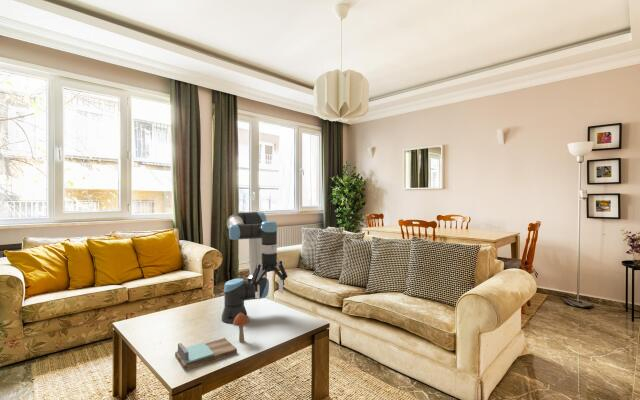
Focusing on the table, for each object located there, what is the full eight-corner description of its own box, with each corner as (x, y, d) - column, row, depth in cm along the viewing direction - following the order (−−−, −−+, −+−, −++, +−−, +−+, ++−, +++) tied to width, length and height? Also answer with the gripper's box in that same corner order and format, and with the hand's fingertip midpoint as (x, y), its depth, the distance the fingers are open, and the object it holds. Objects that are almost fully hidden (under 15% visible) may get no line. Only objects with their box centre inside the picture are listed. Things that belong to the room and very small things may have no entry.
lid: (177, 351, 153) (177, 342, 152) (203, 343, 160) (203, 335, 160) (186, 364, 142) (185, 354, 141) (214, 355, 149) (213, 345, 149)
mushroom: (234, 338, 172) (234, 310, 172) (249, 337, 173) (249, 309, 172) (231, 345, 164) (231, 315, 164) (247, 344, 165) (247, 315, 164)
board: (175, 356, 153) (175, 352, 152) (224, 342, 167) (224, 337, 167) (184, 370, 141) (184, 365, 141) (236, 353, 156) (236, 348, 156)
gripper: (250, 257, 150) (250, 302, 151) (294, 250, 166) (294, 291, 167) (242, 254, 156) (243, 298, 156) (285, 248, 172) (285, 288, 173)
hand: (269, 295), depth 162 cm, fingers open, 13 cm apart
